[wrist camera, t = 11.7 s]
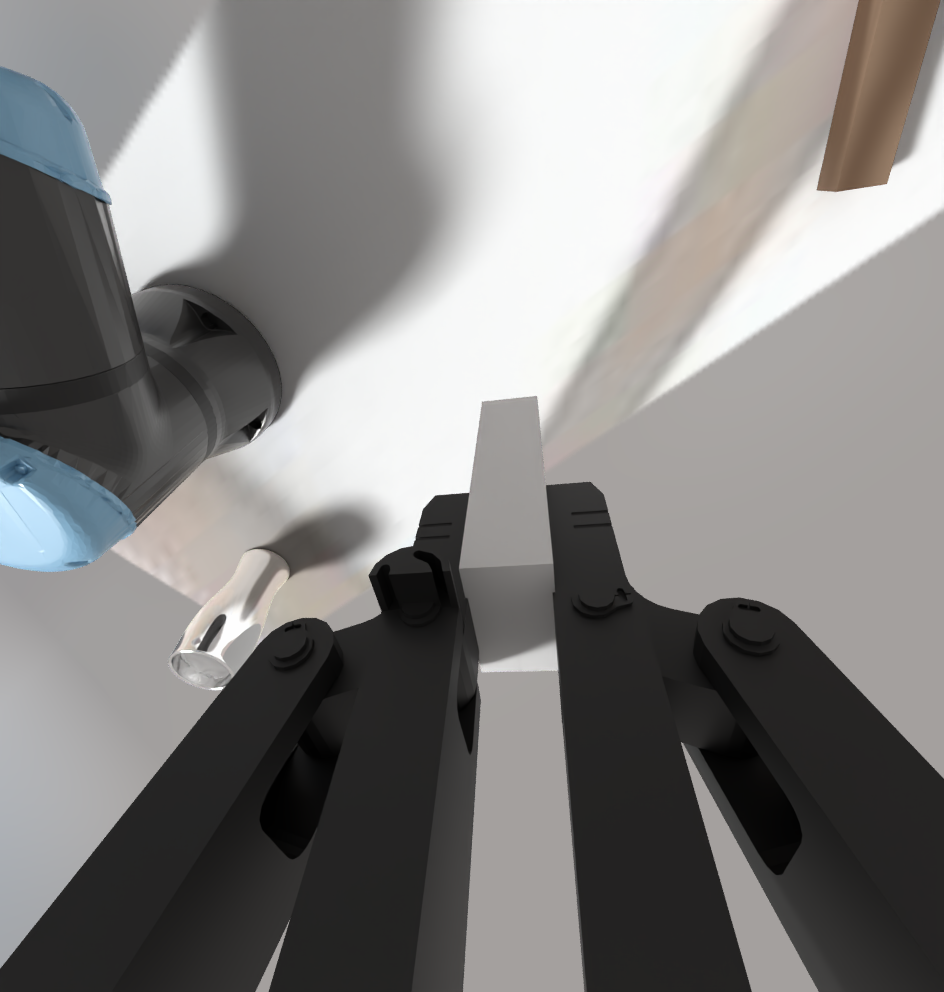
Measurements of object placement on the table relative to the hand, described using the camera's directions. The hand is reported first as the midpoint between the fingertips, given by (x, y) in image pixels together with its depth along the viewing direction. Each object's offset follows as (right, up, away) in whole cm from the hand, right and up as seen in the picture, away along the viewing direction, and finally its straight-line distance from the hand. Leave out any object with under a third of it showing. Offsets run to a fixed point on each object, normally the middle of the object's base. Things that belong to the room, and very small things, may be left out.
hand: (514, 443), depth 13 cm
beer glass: (-27, -10, +46) cm, 54 cm away
